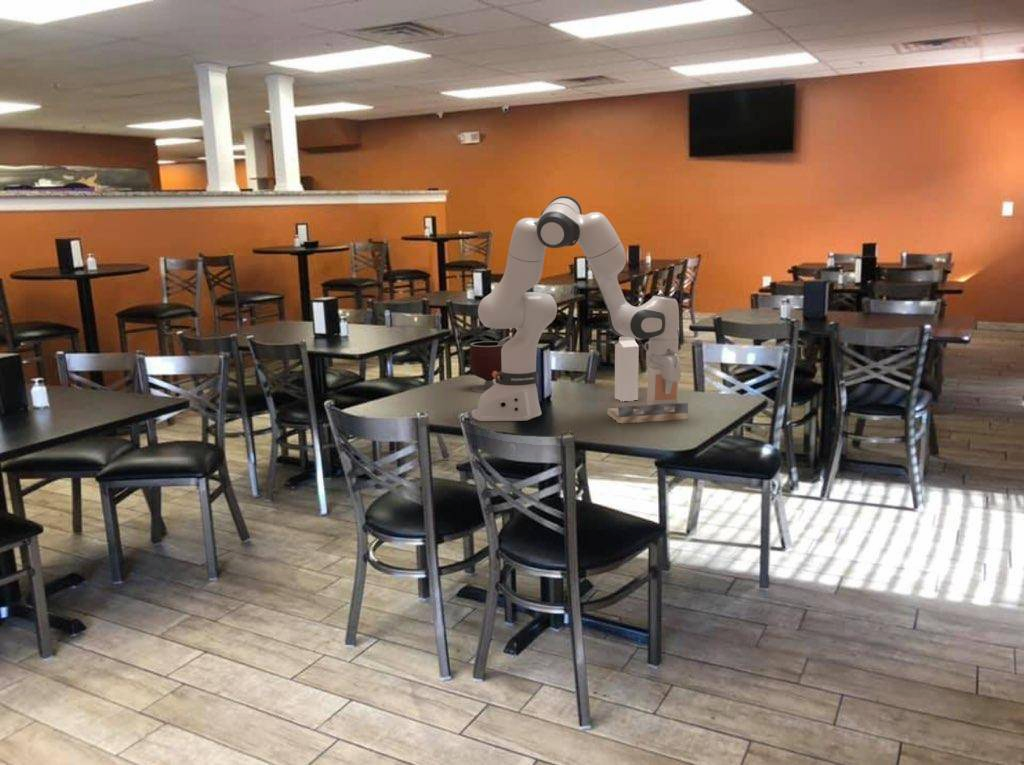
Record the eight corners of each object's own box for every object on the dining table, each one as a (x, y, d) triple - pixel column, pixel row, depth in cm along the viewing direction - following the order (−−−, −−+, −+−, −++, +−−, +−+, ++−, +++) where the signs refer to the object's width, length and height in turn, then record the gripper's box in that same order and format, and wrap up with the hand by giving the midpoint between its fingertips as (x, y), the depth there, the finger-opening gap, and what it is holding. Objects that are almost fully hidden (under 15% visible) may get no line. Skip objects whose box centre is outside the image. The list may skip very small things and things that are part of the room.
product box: (653, 408, 260) (654, 370, 257) (647, 404, 265) (647, 366, 263) (677, 406, 261) (679, 368, 259) (671, 402, 267) (672, 365, 264)
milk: (614, 399, 291) (614, 335, 286) (630, 397, 293) (630, 334, 289) (622, 402, 285) (622, 337, 281) (638, 400, 287) (638, 336, 283)
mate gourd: (468, 393, 304) (467, 338, 300) (472, 386, 317) (470, 333, 313) (511, 393, 303) (510, 338, 299) (513, 385, 317) (512, 333, 313)
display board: (619, 423, 255) (619, 407, 254) (607, 414, 267) (607, 399, 266) (687, 419, 260) (688, 403, 259) (672, 410, 271) (673, 395, 270)
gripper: (686, 352, 250) (685, 397, 253) (661, 342, 270) (660, 384, 273) (666, 353, 249) (665, 398, 252) (642, 343, 269) (642, 385, 271)
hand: (662, 391), depth 262 cm, fingers closed on product box, 6 cm apart
